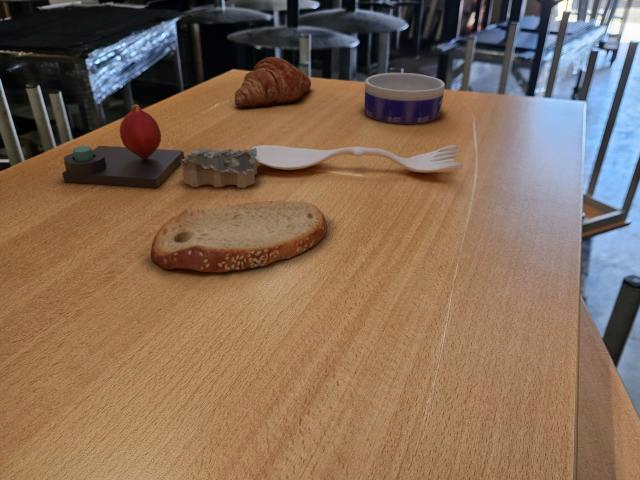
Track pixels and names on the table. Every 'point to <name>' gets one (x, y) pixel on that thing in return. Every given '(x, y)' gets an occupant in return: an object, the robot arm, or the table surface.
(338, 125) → the table surface
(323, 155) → the white plastic spork
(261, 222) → the bread slice
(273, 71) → the pastry
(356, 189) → the table surface
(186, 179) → the egg carton
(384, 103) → the dog bowl
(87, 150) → the button
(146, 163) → the scale
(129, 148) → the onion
